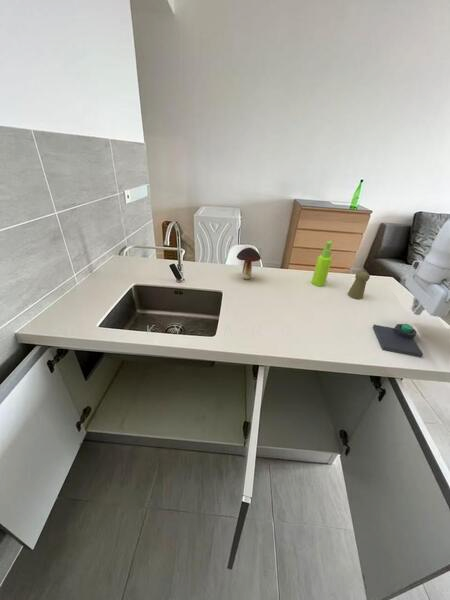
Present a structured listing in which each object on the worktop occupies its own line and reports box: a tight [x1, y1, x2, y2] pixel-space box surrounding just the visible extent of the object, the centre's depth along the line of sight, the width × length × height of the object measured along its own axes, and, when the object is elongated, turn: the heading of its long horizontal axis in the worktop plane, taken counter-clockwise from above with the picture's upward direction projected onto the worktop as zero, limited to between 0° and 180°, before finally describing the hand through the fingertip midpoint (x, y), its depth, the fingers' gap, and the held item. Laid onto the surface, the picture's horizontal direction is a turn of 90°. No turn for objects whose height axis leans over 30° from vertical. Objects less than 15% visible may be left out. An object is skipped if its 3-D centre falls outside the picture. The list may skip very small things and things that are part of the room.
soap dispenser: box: [311, 239, 334, 287], centre depth 109 cm, size 6×7×20 cm
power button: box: [401, 323, 414, 333], centre depth 81 cm, size 3×3×2 cm
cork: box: [347, 270, 371, 300], centre depth 102 cm, size 6×6×11 cm
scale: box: [372, 323, 424, 358], centre depth 79 cm, size 12×13×3 cm
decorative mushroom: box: [236, 247, 262, 280], centre depth 110 cm, size 11×11×15 cm
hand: (414, 312), depth 77 cm, fingers closed
